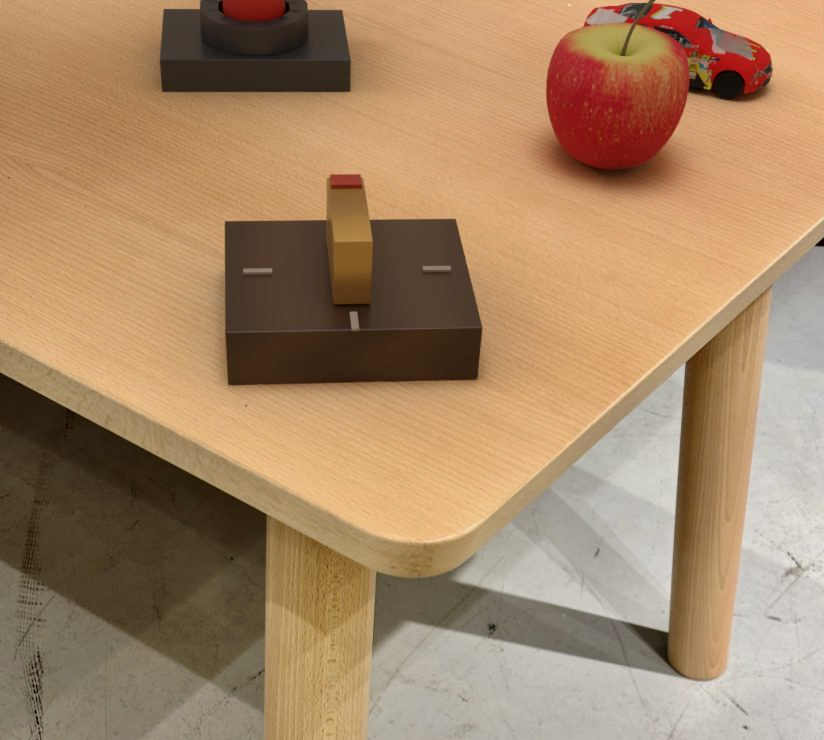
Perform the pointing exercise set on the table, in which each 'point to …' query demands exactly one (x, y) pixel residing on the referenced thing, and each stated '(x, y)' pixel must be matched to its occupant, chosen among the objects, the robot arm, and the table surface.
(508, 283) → the table surface
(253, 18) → the release button
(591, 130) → the apple
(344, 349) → the plate
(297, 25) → the button box
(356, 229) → the lock
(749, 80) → the race car
